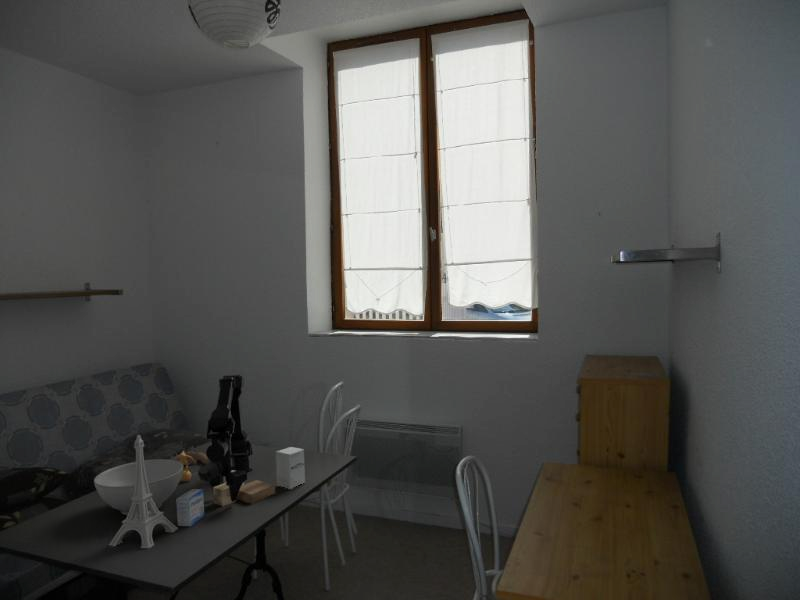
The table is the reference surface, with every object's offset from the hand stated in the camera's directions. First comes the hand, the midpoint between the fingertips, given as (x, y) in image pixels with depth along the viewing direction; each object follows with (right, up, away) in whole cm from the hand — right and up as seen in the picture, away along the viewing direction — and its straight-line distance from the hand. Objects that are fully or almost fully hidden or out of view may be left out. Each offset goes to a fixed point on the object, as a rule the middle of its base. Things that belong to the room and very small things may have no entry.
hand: (224, 498), depth 190 cm
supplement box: (+20, 0, +14) cm, 24 cm away
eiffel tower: (-16, -3, -24) cm, 29 cm away
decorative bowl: (-27, -3, -2) cm, 27 cm away
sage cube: (-1, -1, +15) cm, 15 cm away
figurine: (-21, -2, +21) cm, 30 cm away
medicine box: (-6, -2, -14) cm, 16 cm away
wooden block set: (-20, -1, +42) cm, 47 cm away
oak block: (0, -1, 0) cm, 1 cm away
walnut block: (+9, -1, +5) cm, 10 cm away
